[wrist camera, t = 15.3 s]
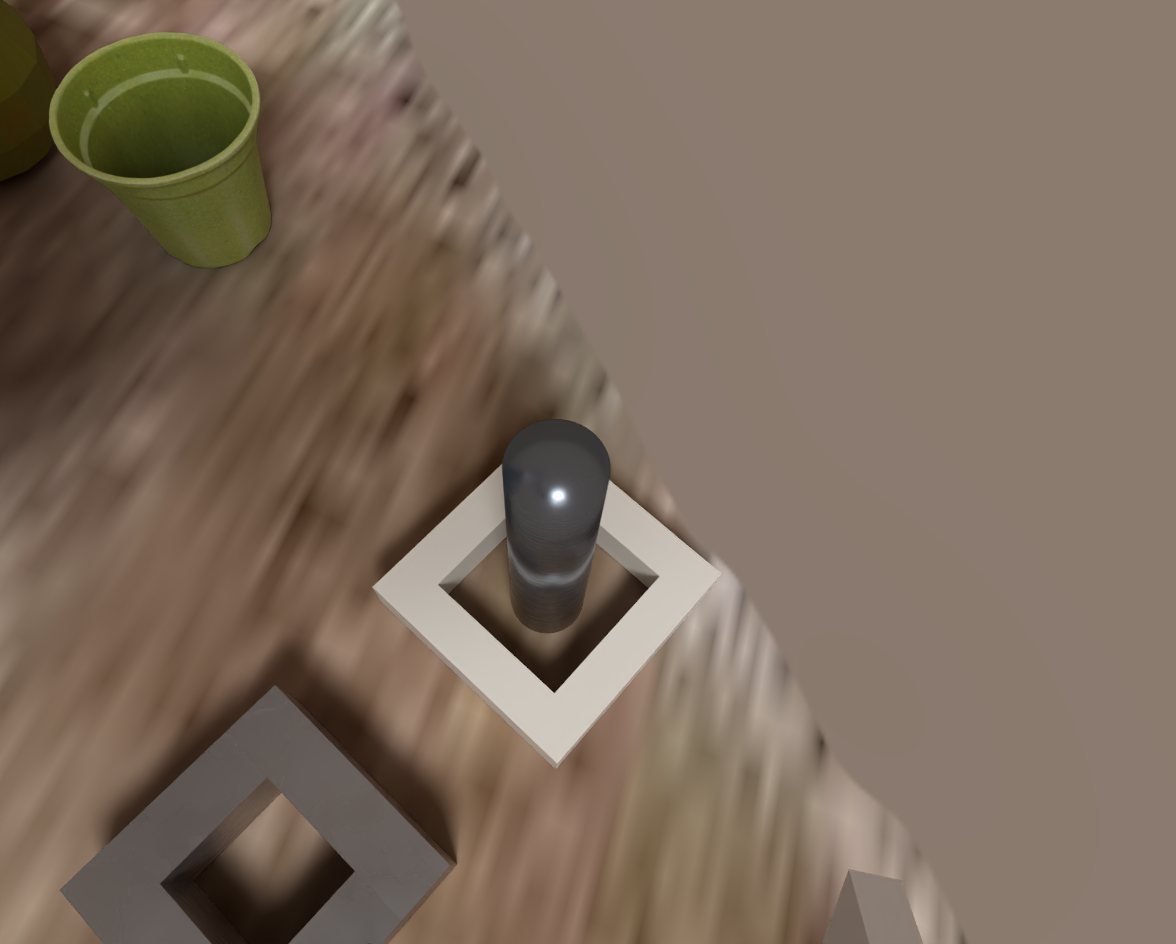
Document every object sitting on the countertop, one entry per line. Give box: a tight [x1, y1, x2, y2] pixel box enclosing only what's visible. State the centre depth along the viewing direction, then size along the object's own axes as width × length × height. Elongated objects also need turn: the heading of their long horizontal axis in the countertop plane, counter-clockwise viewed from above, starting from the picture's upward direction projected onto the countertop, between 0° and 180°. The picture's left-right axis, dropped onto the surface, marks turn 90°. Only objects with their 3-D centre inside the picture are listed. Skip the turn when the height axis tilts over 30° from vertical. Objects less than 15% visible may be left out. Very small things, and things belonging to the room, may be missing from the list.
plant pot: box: [49, 32, 271, 268], centre depth 44 cm, size 9×9×9 cm
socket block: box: [60, 685, 457, 944], centre depth 34 cm, size 10×10×4 cm
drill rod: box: [502, 419, 610, 633], centre depth 34 cm, size 3×3×15 cm
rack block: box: [373, 465, 721, 769], centre depth 40 cm, size 11×11×2 cm
